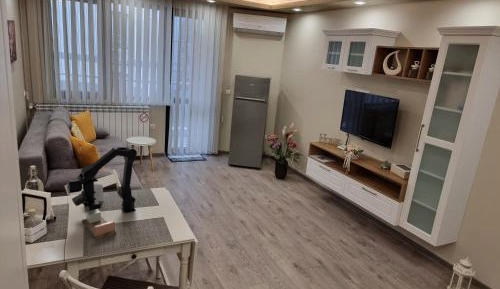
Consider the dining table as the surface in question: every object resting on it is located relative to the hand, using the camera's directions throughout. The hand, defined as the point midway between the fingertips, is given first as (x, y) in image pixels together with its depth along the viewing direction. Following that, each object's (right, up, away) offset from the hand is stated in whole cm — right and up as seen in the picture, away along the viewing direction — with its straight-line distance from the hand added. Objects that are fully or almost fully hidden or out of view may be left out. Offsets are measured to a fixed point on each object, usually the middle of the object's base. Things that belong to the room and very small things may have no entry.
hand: (89, 214), depth 196 cm
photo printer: (-7, +4, +21) cm, 23 cm away
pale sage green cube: (+4, -2, -4) cm, 6 cm away
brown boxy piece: (+8, -6, -8) cm, 13 cm away
